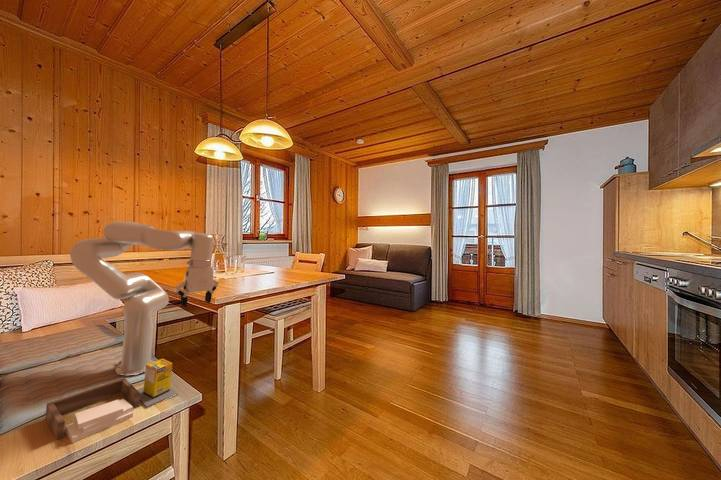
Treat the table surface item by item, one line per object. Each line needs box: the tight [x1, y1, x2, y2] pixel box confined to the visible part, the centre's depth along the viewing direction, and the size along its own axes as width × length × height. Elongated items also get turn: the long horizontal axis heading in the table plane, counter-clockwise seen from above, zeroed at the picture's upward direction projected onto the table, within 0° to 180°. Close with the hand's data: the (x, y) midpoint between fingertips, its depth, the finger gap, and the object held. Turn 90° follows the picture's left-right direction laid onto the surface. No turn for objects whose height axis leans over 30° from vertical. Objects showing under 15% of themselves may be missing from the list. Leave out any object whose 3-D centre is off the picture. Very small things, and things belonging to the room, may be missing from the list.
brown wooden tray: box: [45, 377, 140, 441], centre depth 90 cm, size 13×19×5 cm, turn 149°
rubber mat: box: [136, 386, 179, 409], centre depth 102 cm, size 12×10×1 cm
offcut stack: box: [64, 398, 134, 444], centre depth 86 cm, size 8×14×4 cm, turn 149°
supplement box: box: [143, 358, 173, 399], centre depth 102 cm, size 6×6×11 cm
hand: (196, 304), depth 115 cm, fingers open, 9 cm apart
